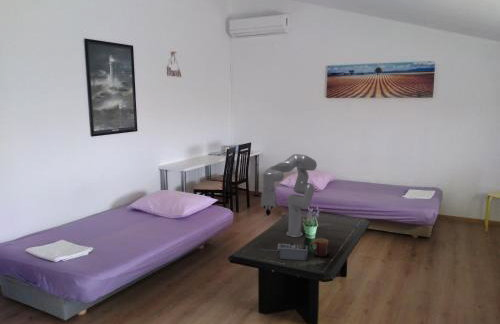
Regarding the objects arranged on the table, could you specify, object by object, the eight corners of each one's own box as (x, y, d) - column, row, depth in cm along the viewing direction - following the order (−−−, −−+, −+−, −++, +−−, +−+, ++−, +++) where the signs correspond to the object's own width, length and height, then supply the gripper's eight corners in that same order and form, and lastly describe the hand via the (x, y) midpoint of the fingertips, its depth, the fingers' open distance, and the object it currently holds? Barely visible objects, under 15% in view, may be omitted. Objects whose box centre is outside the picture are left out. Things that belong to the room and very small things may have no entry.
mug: (324, 252, 273) (325, 238, 271) (329, 257, 264) (330, 242, 262) (308, 253, 270) (308, 239, 269) (312, 258, 262) (313, 243, 260)
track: (259, 248, 278) (259, 248, 278) (280, 250, 276) (280, 250, 276) (259, 250, 275) (259, 250, 275) (279, 251, 273) (279, 251, 273)
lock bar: (278, 249, 275) (278, 241, 274) (297, 251, 273) (297, 243, 272) (277, 250, 273) (277, 242, 273) (297, 252, 271) (297, 244, 270)
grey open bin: (280, 252, 273) (280, 242, 272) (307, 253, 270) (307, 244, 268) (278, 258, 262) (278, 248, 260) (306, 260, 258) (306, 250, 257)
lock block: (288, 253, 271) (289, 244, 270) (297, 253, 270) (298, 245, 269) (288, 258, 263) (288, 249, 262) (297, 258, 262) (297, 249, 261)
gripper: (279, 188, 279) (279, 214, 282) (258, 187, 281) (258, 212, 284) (278, 191, 272) (278, 217, 275) (257, 190, 274) (256, 216, 277)
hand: (268, 215), depth 279 cm, fingers closed
